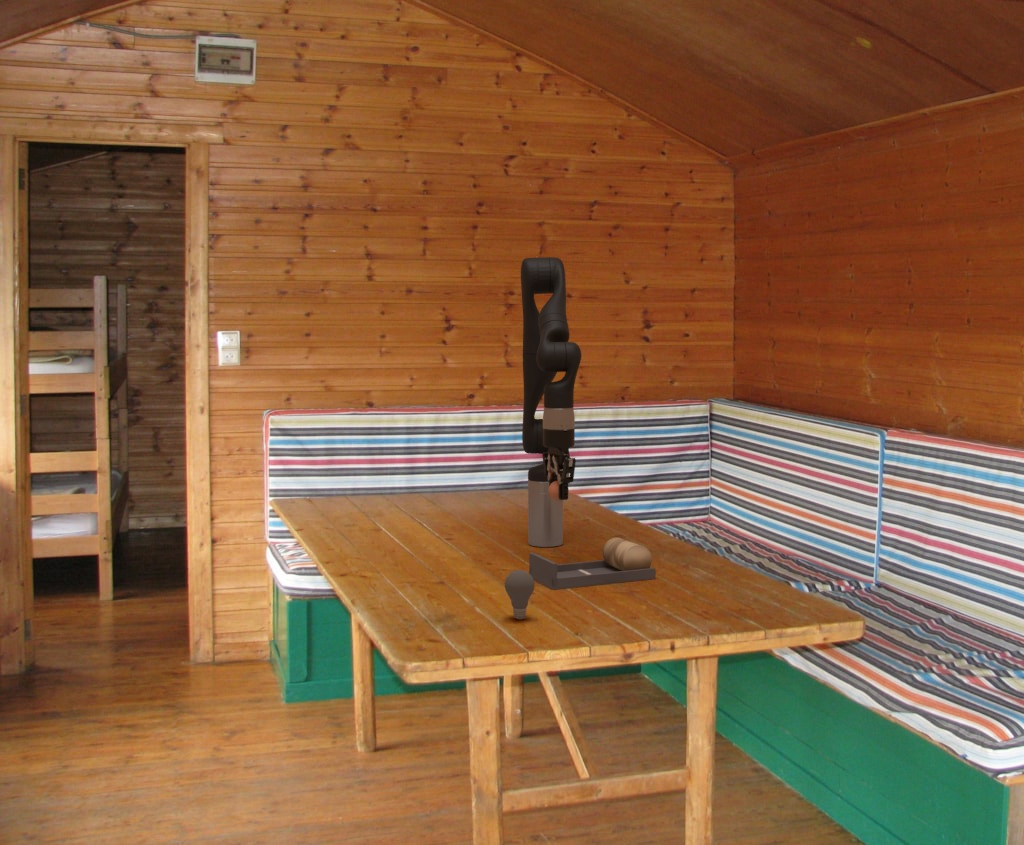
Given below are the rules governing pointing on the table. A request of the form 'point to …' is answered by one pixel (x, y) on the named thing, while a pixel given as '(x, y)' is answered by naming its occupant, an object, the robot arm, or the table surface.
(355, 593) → the table surface
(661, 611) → the table surface
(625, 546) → the log roller
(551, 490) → the ball
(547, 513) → the robot arm
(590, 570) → the runway
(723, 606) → the table surface
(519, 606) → the light bulb
